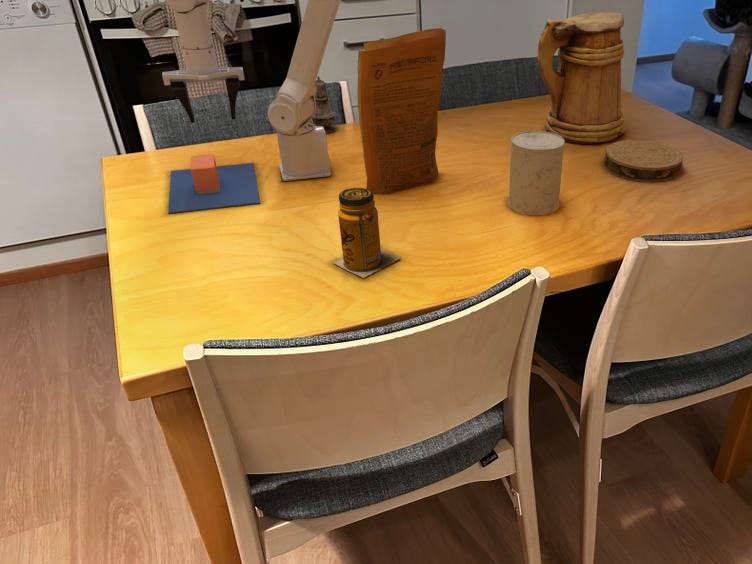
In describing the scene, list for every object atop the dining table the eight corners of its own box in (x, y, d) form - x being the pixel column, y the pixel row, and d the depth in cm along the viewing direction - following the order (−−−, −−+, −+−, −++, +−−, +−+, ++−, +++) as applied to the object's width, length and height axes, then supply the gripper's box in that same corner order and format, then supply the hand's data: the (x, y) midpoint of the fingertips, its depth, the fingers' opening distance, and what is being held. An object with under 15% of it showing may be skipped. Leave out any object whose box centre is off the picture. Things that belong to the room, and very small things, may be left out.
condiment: (332, 263, 112) (323, 193, 105) (371, 245, 117) (365, 177, 110) (363, 279, 108) (356, 207, 101) (402, 259, 113) (398, 190, 106)
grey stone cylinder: (564, 198, 134) (570, 134, 126) (551, 218, 126) (557, 152, 119) (516, 190, 136) (519, 128, 128) (501, 210, 129) (504, 145, 121)
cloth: (253, 164, 144) (253, 162, 144) (260, 203, 129) (259, 202, 129) (171, 172, 140) (171, 170, 140) (168, 214, 125) (168, 212, 125)
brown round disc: (648, 188, 138) (651, 174, 136) (588, 164, 147) (590, 150, 145) (695, 169, 146) (698, 155, 145) (636, 147, 156) (638, 134, 154)
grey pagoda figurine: (331, 135, 159) (325, 80, 151) (307, 132, 159) (300, 78, 152) (341, 126, 163) (335, 73, 156) (317, 124, 164) (310, 71, 157)
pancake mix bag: (456, 180, 139) (456, 29, 122) (371, 202, 130) (358, 42, 113) (438, 169, 144) (435, 22, 127) (354, 189, 135) (340, 34, 118)
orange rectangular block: (219, 178, 137) (213, 153, 134) (220, 192, 132) (214, 167, 129) (196, 180, 136) (190, 155, 133) (196, 194, 131) (190, 169, 128)
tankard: (639, 136, 162) (658, 19, 147) (558, 154, 152) (569, 30, 137) (590, 114, 174) (603, 3, 159) (512, 129, 164) (517, 13, 149)
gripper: (155, 53, 125) (173, 129, 133) (239, 49, 128) (252, 122, 137) (156, 44, 130) (174, 117, 138) (237, 40, 134) (250, 111, 142)
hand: (213, 119), depth 138 cm, fingers open, 7 cm apart
